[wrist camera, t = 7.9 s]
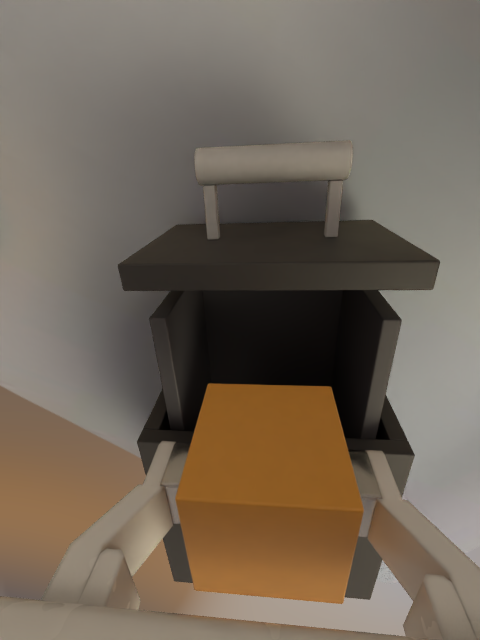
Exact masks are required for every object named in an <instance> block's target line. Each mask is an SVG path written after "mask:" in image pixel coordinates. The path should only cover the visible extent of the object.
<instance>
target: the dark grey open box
mask: <svg viewBox="0 0 480 640" xmlns="http://www.w3.org/2000/svg"><path fill="white" fill-rule="evenodd" d="M193 434H194V431H173V430H171V429H170V423H169V418H168V413H167V408H166V403H165V398H164V392H163V389H162V391H161V393H160V395H159V397H158V399H157V401H156V403H155V406H154V408H153V410H152V412H151V414H150V416H149V418H148V420H147V422H146V424H145V426H144V429H143V430H142V432H141V434H140V437H139V439H138V441H137V444H138V447H139V451H140V455H141V459H142V462H143V466H144V470H145V474H146V475H147V473H148V470H149V468H150V465H151V463H152V460H153V458H154V455H155V453H156V450H157V448H158V445H159V444H160V443H161V441H172V442H188V443H191V441H192V437H193ZM345 440H346V444H347V448H348V449H352V450H373V451H382V452H383V453H384V454H385V457H386V459H387V462H388V464H389V467H390V469H391V472H392V475H393V477H394V480H395V482H396V485H397V487H398V490H399V492H400V495H401V497H402V495H403V492H404V488H405V485H406V482H407V479H408V475H409V472H410V469H411V466H412V462H413V459H414V456H415V455H414V453H413V450H412V448H411V446H410V444H409V442H408V441H407V438H406V436H405V434H404V432H403V430H402V428H401V426H400V423H399V421H398V419H397V417H396V415H395V413H394V411H393V409H392V407H391V405H390V403H389V401H388V398H387V396H386V394H385V399H384V403H383V408H382V412H381V417H380V421H379V426H378V431H377V435H376V439H355V438H345ZM367 538H368V537H360V536H358V539H357V544H356V548H355V553H354V557H353V561H352V566H351V570H350V575H349V579H348V583H347V588H346V592H345V597H347V598H358V599H368V600H369V599H370V598H371V595H372V591H373V588H374V585H375V582H376V579H377V575H378V572H379V569H380V566H381V563H382V558H381V557H380V555H379V554H378V553H377V551H376V550H375V548H374V547H373V546H372V544H371V543H370V542H369V540H368V539H367ZM163 541H164V544H165V548H166V552H167V556H168V560H169V564H170V567H171V571H172V575H173V578H174V581H178V582H188V583H193V581H192V577H191V572H190V567H189V562H188V558H187V553H186V548H185V543H184V538H183V534H182V529H181V524H173V526H172V527H171V529H170V530H169V531H168V532H167V534H166V535H165V536H164V538H163Z"/></svg>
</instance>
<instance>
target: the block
mask: <svg viewBox="0 0 480 640" xmlns="http://www.w3.org/2000/svg"><path fill="white" fill-rule="evenodd" d="M175 500H176V505H177V510H178V515H179V519H180V524H181V529H182V534H183V538H184V543H185V548H186V553H187V558H188V562H189V567H190V572H191V577H192V581H193V586H194V590H196V591H206V592H217V593H228V594H240V595H251V596H261V597H273V598H283V599H294V600H305V601H316V602H326V603H338V604H342V603H343V601H344V597H345V592H346V588H347V583H348V579H349V575H350V570H351V566H352V561H353V557H354V553H355V548H356V544H357V539H358V535H359V530H360V526H361V522H362V517H363V513H364V508H363V504H362V500H361V497H360V493H359V489H358V485H357V482H356V478H355V474H354V470H353V467H352V463H351V459H350V455H349V452H348V448H347V444H346V440H345V437H344V433H343V429H342V425H341V421H340V418H339V414H338V410H337V406H336V403H335V399H334V395H333V391H332V388H331V387H330V386H292V385H253V384H213V383H209V384H208V385H207V388H206V392H205V395H204V399H203V402H202V406H201V409H200V413H199V416H198V420H197V423H196V427H195V430H194V434H193V437H192V441H191V444H190V448H189V451H188V455H187V458H186V462H185V465H184V469H183V472H182V476H181V479H180V483H179V486H178V490H177V493H176V497H175Z"/></svg>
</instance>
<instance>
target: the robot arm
mask: <svg viewBox="0 0 480 640" xmlns="http://www.w3.org/2000/svg"><path fill="white" fill-rule="evenodd" d="M190 444H191V443H188V442H172V441H161V443H160V444H159V445H158V448H157V450H156V453H155V455H154V458H153V460H152V463H151V465H150V468H149V470H148V473H147V475H146V478H145V480H144V483H143V485H137V486H136V487H135V488H134V489H133V490H132V491H130V492H129V493H128V494H127V495H126V496H125V497H124V498H122V499H121V500H120V501H119V502H118V503H117V504H116V505H114V506H113V507H112V508H111V509H110V510H109V511H107V512H106V513H105V514H104V515H103V516H102V517H101V518H99V519H98V520H97V521H96V522H95V523H94V524H93V525H92V526H91V527H89V528H88V529H87V530H86V531H85V532H83V533H82V534H81V535H80V536H79V537H78V538H77V539H75V540H74V541H73V542H72V543H71V544H70V546H69V547H68V549H67V552H66V553H65V555H64V557H63V559H62V561H61V563H60V564H59V566H58V569H57V570H56V572H55V574H54V576H53V578H52V580H51V582H50V583H49V585H48V587H47V589H46V591H45V593H44V595H43V596H42V598H41V600H34V599H24V598H14V597H4V596H0V640H480V568H479V567H478V566H477V565H476V564H475V563H474V562H473V561H472V560H471V559H470V558H469V557H467V556H466V555H465V554H464V553H463V552H462V551H461V550H460V549H459V548H458V547H457V546H456V545H455V544H454V543H453V542H451V541H450V540H449V539H448V538H447V537H446V536H445V535H444V534H443V533H442V532H441V531H440V530H439V529H438V528H437V527H436V526H434V525H433V524H432V523H431V522H430V521H429V520H428V519H427V518H426V517H425V516H424V515H423V514H422V513H421V512H420V511H418V510H417V509H416V508H415V507H414V506H413V505H412V504H411V503H410V502H409V501H408V500H402V497H401V495H400V492H399V490H398V487H397V485H396V482H395V480H394V477H393V475H392V472H391V469H390V467H389V464H388V462H387V459H386V457H385V454H384V453H383V452H382V451H373V450H352V449H348V452H349V455H350V459H351V463H352V467H353V470H354V474H355V478H356V482H357V485H358V489H359V493H360V497H361V500H362V504H363V508H364V513H363V517H362V522H361V526H360V530H359V535H358V536H360V537H368V538H367V539H368V540H369V542H370V543H371V544H372V546H373V547H374V548H375V550H376V551H377V553H378V554H379V555H380V557H381V558H382V559H383V561H384V562H385V563H386V565H387V566H388V568H389V569H390V570H391V572H392V573H393V574H394V576H395V577H396V578H397V580H398V581H399V583H400V584H401V585H402V587H403V588H404V589H405V590H406V592H407V593H408V595H409V596H410V597H411V599H412V600H413V604H412V606H411V609H410V611H409V613H408V615H407V618H406V620H405V622H404V624H403V627H404V631H405V634H406V636H396V635H386V634H375V633H366V632H356V631H345V630H335V629H325V628H316V627H306V626H296V625H286V624H276V623H266V622H256V621H246V620H236V619H235V620H234V619H226V618H215V617H206V616H195V615H185V614H175V613H165V612H155V611H145V610H138V608H139V604H140V598H139V595H138V592H137V590H136V587H135V584H134V582H133V579H132V576H133V575H134V574H135V573H136V571H137V570H138V569H139V568H140V566H141V565H142V564H143V562H144V561H145V560H146V559H147V558H148V556H149V555H150V554H151V552H152V551H153V550H154V549H155V547H156V546H157V545H158V544H159V542H160V541H161V540H162V539H163V538H164V536H165V535H166V534H167V532H168V531H169V530H170V529H171V527H172V526H173V524H180V519H179V515H178V510H177V505H176V500H175V497H176V493H177V490H178V486H179V483H180V479H181V476H182V472H183V469H184V465H185V462H186V458H187V455H188V451H189V448H190Z"/></svg>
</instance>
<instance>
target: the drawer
mask: <svg viewBox="0 0 480 640" xmlns="http://www.w3.org/2000/svg"><path fill="white" fill-rule="evenodd" d="M352 158H353V146H352V142H351V141H350V140H347V141H327V142H307V143H287V144H267V145H247V146H227V147H207V148H197V149H196V150H195V155H194V165H195V174H196V178H197V181H198V184H199V185H204V186H203V194H204V206H205V217H206V224H186V225H176V226H174V227H173V228H171V229H170V230H168V231H167V232H165V233H164V234H162V235H161V236H159V237H158V238H156V239H155V240H154V241H152V242H151V243H149V244H148V245H146V246H145V247H143V248H142V249H140V250H139V251H137V252H136V253H134V254H133V255H131V256H130V257H128V258H127V259H125V260H124V261H123V262H121V263H120V264H118V269H119V273H120V278H121V282H122V286H123V290H124V291H170V292H169V294H168V295H167V296H166V298H165V299H164V300H163V301H162V303H161V304H160V305H159V307H158V308H157V309H156V310H155V312H154V313H153V314H152V316H151V317H150V318H149V320H150V325H151V330H152V335H153V341H154V346H155V351H156V356H157V361H158V367H159V372H160V377H161V382H162V387H163V392H164V398H165V403H166V408H167V413H168V418H169V423H170V429H171V430H173V431H194V430H195V427H196V423H197V420H198V416H199V413H200V409H201V406H202V402H203V399H204V395H205V392H206V388H207V385H208V384H209V383H213V384H253V385H292V386H330V387H331V388H332V391H333V395H334V399H335V403H336V406H337V410H338V414H339V418H340V421H341V425H342V429H343V433H344V437H345V438H355V439H376V435H377V431H378V426H379V421H380V417H381V412H382V408H383V403H384V399H385V394H386V390H387V385H388V381H389V376H390V371H391V367H392V362H393V358H394V353H395V349H396V344H397V340H398V335H399V331H400V326H401V321H402V320H401V319H400V317H399V316H398V315H397V314H396V312H395V311H394V310H393V309H392V307H391V306H390V305H389V304H388V302H387V301H386V300H385V299H384V297H383V296H382V295H381V294H380V292H379V291H378V290H432V289H433V288H434V284H435V280H436V276H437V272H438V268H439V264H440V261H439V260H438V259H436V258H435V257H433V256H431V255H430V254H428V253H426V252H425V251H423V250H421V249H420V248H418V247H416V246H415V245H413V244H411V243H410V242H408V241H406V240H405V239H403V238H401V237H400V236H398V235H396V234H395V233H393V232H391V231H390V230H388V229H387V228H385V227H383V226H382V225H380V224H378V223H377V222H375V221H373V220H348V221H339V218H340V208H341V198H342V188H343V180H346V179H347V178H348V177H349V174H350V171H351V166H352ZM326 180H329V181H328V190H327V202H326V215H325V221H307V222H267V223H227V224H219V213H218V198H217V185H219V184H246V183H273V182H299V181H326Z"/></svg>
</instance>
